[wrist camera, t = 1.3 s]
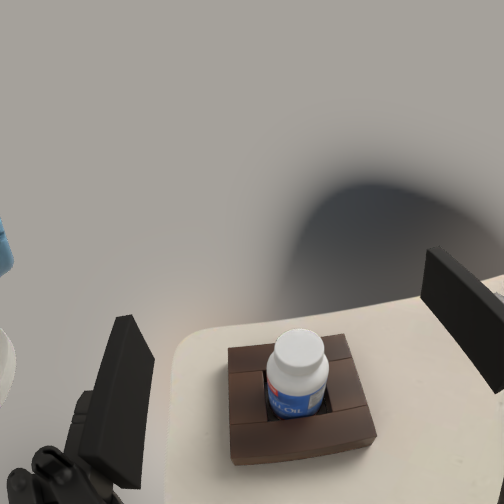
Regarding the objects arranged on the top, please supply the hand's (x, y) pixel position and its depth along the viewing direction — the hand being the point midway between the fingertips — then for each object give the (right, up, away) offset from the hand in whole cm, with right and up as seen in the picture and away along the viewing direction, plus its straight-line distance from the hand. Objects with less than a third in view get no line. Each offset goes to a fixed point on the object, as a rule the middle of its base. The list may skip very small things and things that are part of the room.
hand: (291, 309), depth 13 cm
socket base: (+3, -13, +17) cm, 21 cm away
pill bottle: (+3, -13, +17) cm, 21 cm away
